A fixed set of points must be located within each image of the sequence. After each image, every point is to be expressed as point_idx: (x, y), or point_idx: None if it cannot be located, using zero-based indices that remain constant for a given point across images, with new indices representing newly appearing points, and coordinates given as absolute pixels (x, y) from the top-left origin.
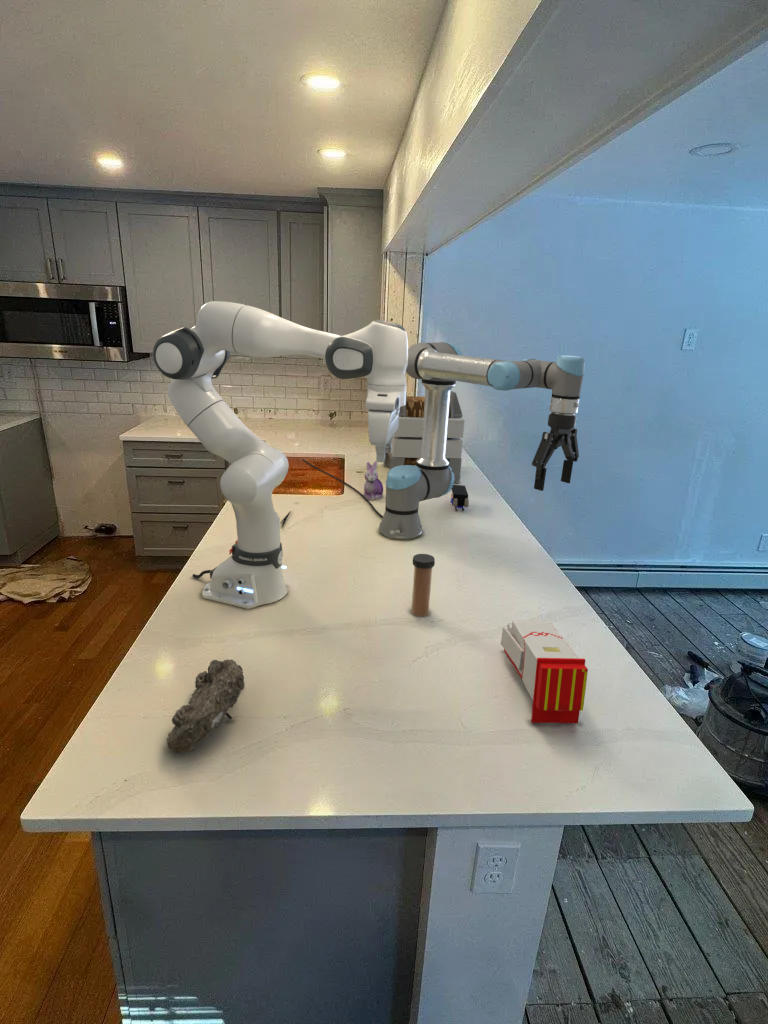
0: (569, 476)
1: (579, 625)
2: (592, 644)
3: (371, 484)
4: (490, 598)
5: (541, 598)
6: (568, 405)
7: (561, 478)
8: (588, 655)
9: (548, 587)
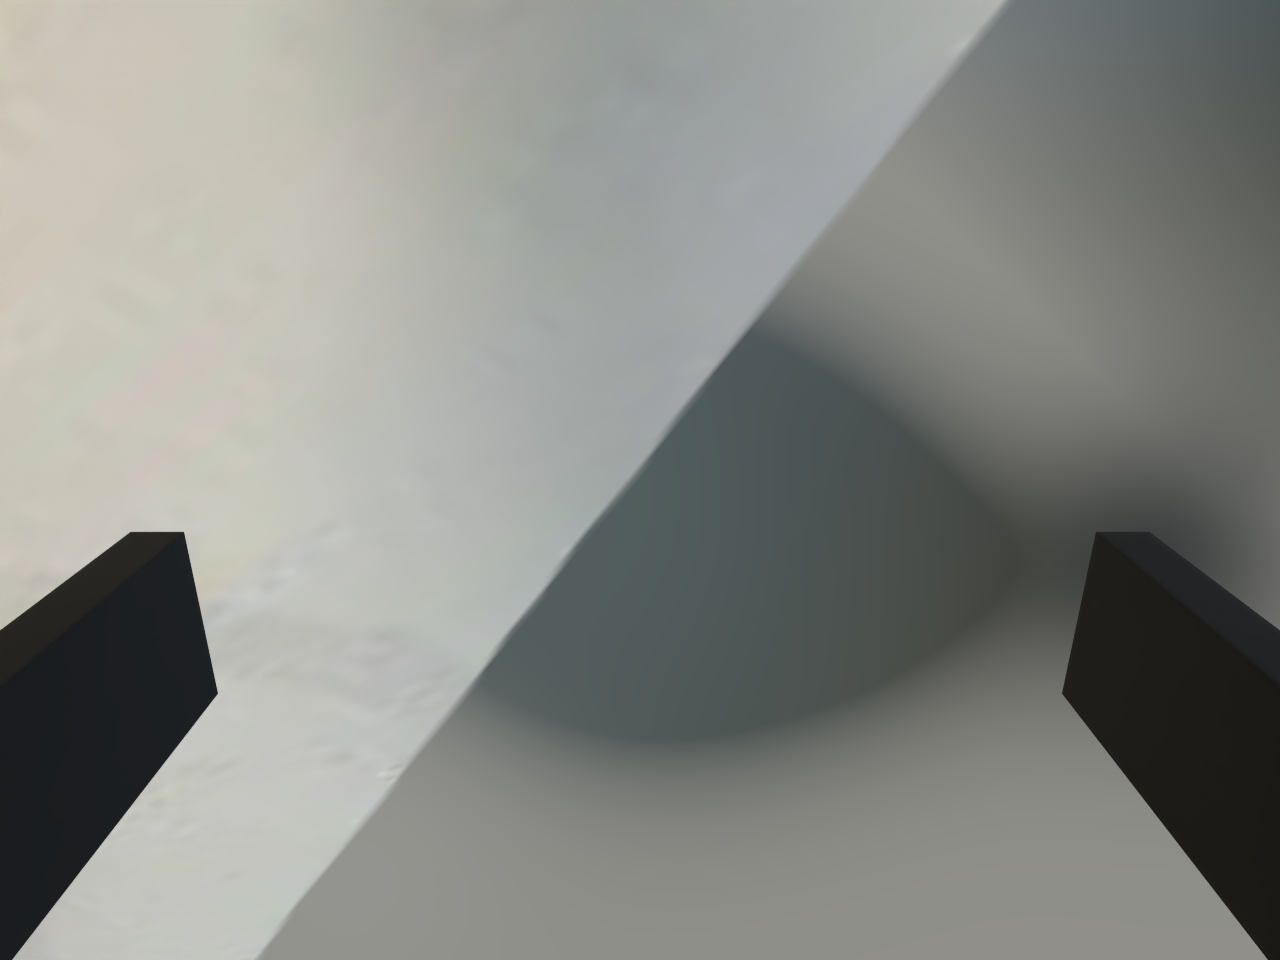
0: (1139, 786)
1: (313, 752)
2: (236, 848)
3: None
4: (81, 338)
5: (361, 511)
6: None
7: (1128, 568)
8: (155, 873)
9: (509, 458)
